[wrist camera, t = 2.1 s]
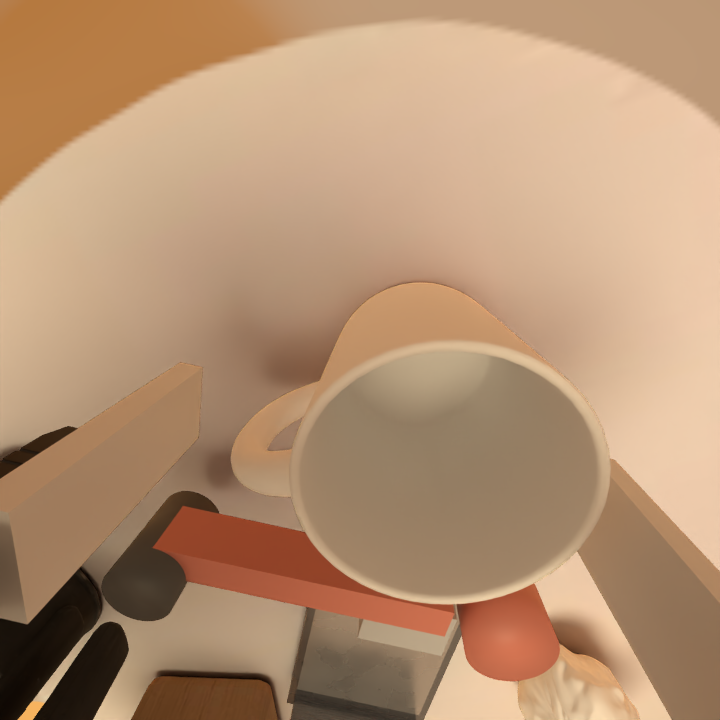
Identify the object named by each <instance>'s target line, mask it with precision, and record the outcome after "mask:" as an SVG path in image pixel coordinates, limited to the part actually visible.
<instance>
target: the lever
mask: <svg viewBox="0 0 720 720" xmlns="http://www.w3.org/2000/svg"><path fill="white" fill-rule="evenodd" d="M187 582H193V583H198V584H202V585H207V586H212V587H216V588H221V589H226V590H230V591H235V592H240V593H244V594H249V595H253V596H258V597H263V598H267V599H272V600H277V601H281V602H286V603H291V604H295V605H300V606H304V607H309V608H314V609H318V610H323V611H328V612H332V613H337V614H342V615H346V616H351V617H356V618H359V628H358V638H360V639H365V640H369V641H374V642H379V643H383V644H388V645H392V646H397V647H402V648H406V649H411V650H416V651H420V652H425V653H430V654H434V655H439V656H442V654H443V651H444V649H445V647H446V645H447V642H448V640H449V638H450V635H451V633H452V631H453V628H454V626H455V624H456V622H457V616H456V610H455V605H454V604H428V603H420V602H412V601H408V600H403V599H399V598H395V597H392V596H389V595H386V594H383V593H380V592H377V591H375V590H373V589H370V588H368V587H366V586H364V585H362V584H360V583H358V582H357V581H355V580H353V579H351V578H350V577H348V576H346V575H345V574H344V573H342V572H341V571H340V570H338V569H337V568H336V567H334V566H333V565H332V564H331V563H330V562H329V561H328V560H327V559H326V558H325V557H324V556H323V555H322V554H321V553H320V552H319V551H318V550H317V548H316V547H315V546H314V545H313V544H312V542H311V541H310V539H309V538H308V536H307V535H306V533H305V532H301V531H297V530H292V529H288V528H283V527H278V526H274V525H269V524H264V523H260V522H255V521H251V520H246V519H241V518H237V517H232V516H227V515H223V514H219V511H218V509H217V508H216V506H215V505H214V504H213V503H212V502H211V501H210V500H209V499H208V498H206V497H205V496H203V495H201V494H198V493H195V492H190V491H181V492H177V493H174V494H172V495H171V496H170V497H169V498H168V499H167V500H166V501H165V502H164V504H163V505H162V506H161V507H160V509H159V510H158V511H157V512H156V514H155V515H154V516H153V517H152V519H151V520H150V521H149V522H148V524H147V525H146V526H145V527H144V528H143V530H142V531H141V532H140V533H139V535H138V536H137V537H136V538H135V540H134V541H133V542H132V543H131V545H130V546H129V547H128V548H127V550H126V551H125V552H124V553H123V555H122V556H121V557H120V558H119V559H118V561H117V562H116V563H115V564H114V566H113V567H112V568H111V569H110V571H109V572H108V573H107V574H106V576H105V577H104V579H103V581H102V592H103V595H104V597H105V599H106V600H107V602H108V603H109V604H110V605H111V606H112V607H113V608H114V609H115V610H117V611H118V612H120V613H121V614H123V615H125V616H127V617H130V618H133V619H136V620H141V621H155V620H159V619H162V618H164V617H165V616H167V615H168V614H169V613H170V612H171V610H172V608H173V606H174V605H175V603H176V601H177V599H178V598H179V596H180V594H181V592H182V590H183V589H184V587H185V585H186V583H187ZM456 606H457V611H458V617H459V622H460V628H461V633H462V639H463V644H464V650H465V655H466V658H467V661H468V662H469V664H470V665H471V666H472V667H473V668H474V669H475V670H476V671H477V672H479V673H481V674H482V675H485V676H487V677H489V678H493V679H496V680H502V681H521V680H526V679H530V678H534V677H536V676H539V675H541V674H543V673H544V672H546V671H547V670H549V669H550V668H551V667H552V666H553V665H554V664H555V662H556V661H557V659H558V657H559V654H560V645H559V642H558V639H557V637H556V634H555V632H554V629H553V627H552V624H551V622H550V619H549V617H548V615H547V612H546V610H545V607H544V605H543V602H542V600H541V598H540V595H539V593H538V590H537V588H536V586H535V584H532V585H530V586H527V587H525V588H523V589H521V590H519V591H516V592H513V593H510V594H507V595H505V596H501V597H497V598H493V599H489V600H486V601H479V602H473V603H466V604H456Z"/></svg>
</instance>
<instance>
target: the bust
mask: <svg viewBox="0 0 720 720" xmlns="http://www.w3.org/2000/svg"><path fill="white" fill-rule="evenodd" d="M559 645H560V654H559V657H558V659H557V661H556V662H555V664H554V665H553V666H552V667H551V668H550V669H549V670H547V671H546V672H544V673H543V674H541V675H539V676H536V677H534V678H530V679H526V680H521V681H519V685H518V703H519V707H520V710H521V712H522V714H523V716H524V718H525V720H640V718H639V714H638V711H637V709H636V708H635V706H634V705H633V704H632V703H631V702H630V700H629V699H628V697H627V696H626V694H625V693H624V691H623V690H622V688H621V686H620V685H619V683H618V682H617V680H616V679H615V677H614V675H613V674H612V672H611V671H610V669H609V668H608V667H606V666H605V665H604V664H602V663H601V662H599V661H598V660H596V659H594V658H592V657H590V656H587V655H582V654H574V653H572V652H571V651H569V650H568V649H566V648H565V647H564V646H563V645H561V644H559Z"/></svg>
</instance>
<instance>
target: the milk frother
mask: <svg viewBox="0 0 720 720" xmlns="http://www.w3.org/2000/svg"><path fill="white" fill-rule="evenodd" d="M0 462H2V461H0ZM99 615H100V602H99V597H98V594H97V592H96V590H95V588H94V586H93V584H92V583H91V582H90V580H89V579H88V578H87V577H86V576H85V575H84V574H83V572H82V571H81V570H79V569H78V570H77V571H76V572H75V573H74V574H73V575H72V576H71V578H70V579H69V580H68V581H67V582H66V583H65V584H64V585H63V586H62V587H61V588H60V590H59V591H58V592H57V593H56V594H55V595H54V596H53V597H52V598H51V599H50V600H49V602H48V603H47V604H46V605H45V606H44V607H43V608H42V609H41V610H40V611H39V613H38V614H37V615H36V616H35V617H34V618H33V619H32V620H31V621H30V622H29V623H28V624H24V623H19V622H15V621H11V620H7V619H2V618H0V720H17V719H18V718H19V717H20V716H21V715H22V714H23V713H24V711H25V710H26V708H27V706H28V705H29V704H30V703H31V702H32V701H33V699H34V698H35V697H36V695H37V694H38V692H39V691H40V690H41V689H42V687H43V686H44V685H45V683H46V682H47V681H48V680H49V678H50V677H51V676H52V675H53V673H54V672H55V671H56V669H57V668H58V667H59V665H60V664H61V663H62V662H63V660H64V659H65V658H66V657H67V655H68V654H69V653H70V651H71V650H72V649H73V648H74V646H75V645H76V644H77V643H78V641H79V640H80V639H81V638H82V637H83V635H84V634H85V633H87V632H88V631H90V630H91V629H92V628H93V627H94V625H95V624H96V622H97V620H98V618H99ZM128 651H129V648H128V642H127V638H126V635H125V633H124V630H123V629H122V627H121V625H119V624H118V623H114V622H107V623H104V624H102V625H101V626H100V627H99V628H98V629H97V630H96V631H95V632H94V633H93V634H92V636H91V637H90V639H89V640H88V641H87V643H86V644H85V645H84V647H83V648H82V650H81V651H80V653H79V654H78V656H77V657H76V658H75V660H74V661H73V663H72V664H71V666H70V667H69V669H68V670H67V672H66V673H65V675H64V676H63V677H62V679H61V680H60V682H59V683H58V685H57V686H56V688H55V689H54V691H53V692H52V694H51V695H50V697H49V698H48V700H47V701H46V702H45V704H44V705H43V706H42V708H41V709H40V711H39V712H38V713H37V715H36V716H35V718H34V719H33V720H93V719H94V717H95V715H96V713H97V711H98V709H99V707H100V706H101V704H102V702H103V700H104V698H105V696H106V694H107V692H108V691H109V689H110V687H111V685H112V683H113V681H114V680H115V678H116V676H117V674H118V672H119V670H120V669H121V667H122V665H123V663H124V661H125V659H126V657H127V654H128Z"/></svg>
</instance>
